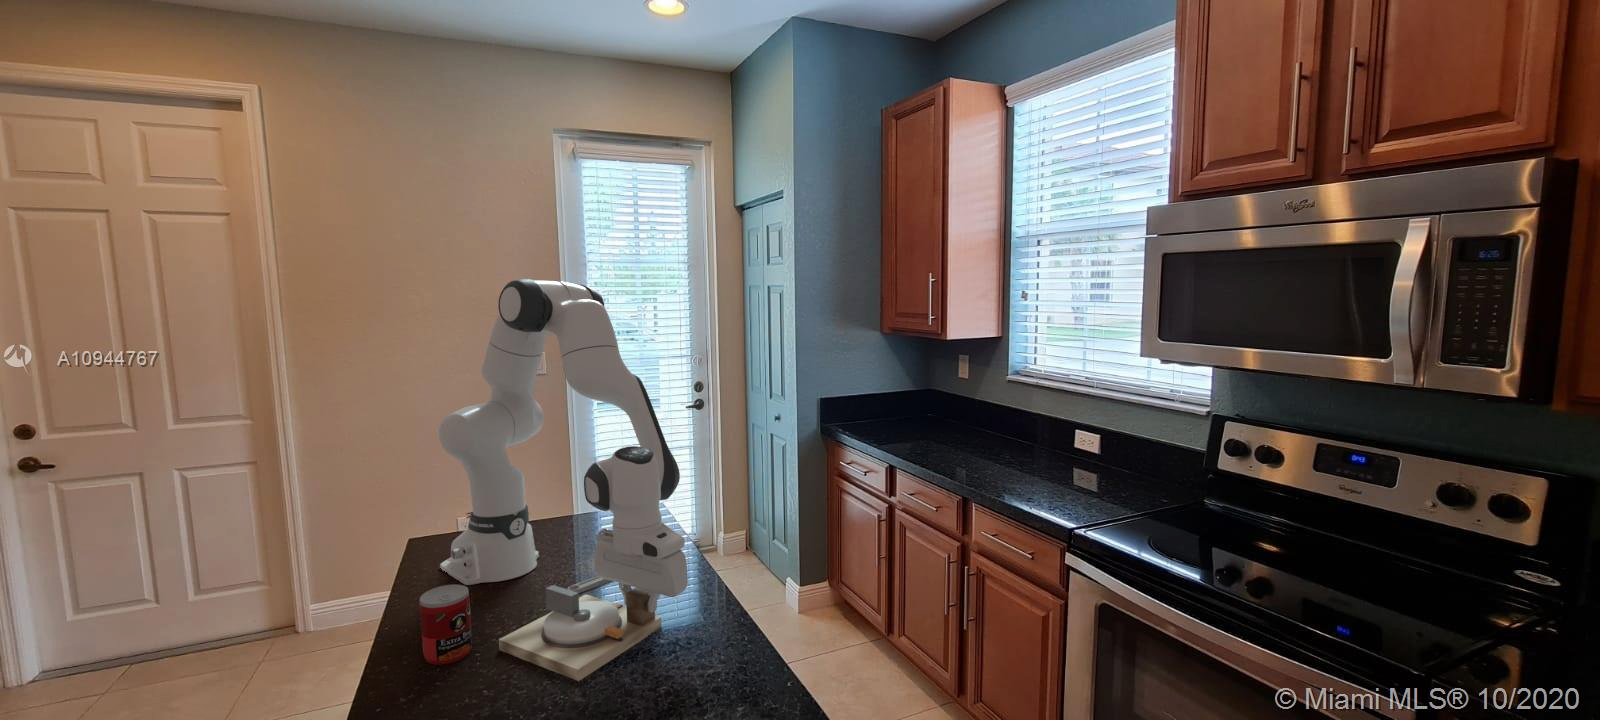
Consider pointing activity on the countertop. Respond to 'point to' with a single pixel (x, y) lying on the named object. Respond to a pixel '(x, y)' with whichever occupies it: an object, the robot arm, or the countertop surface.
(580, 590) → the adjustable wrench
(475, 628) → the countertop surface
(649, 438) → the robot arm
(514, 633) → the panel
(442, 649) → the canned food
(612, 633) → the dial
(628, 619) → the block
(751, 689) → the countertop surface
